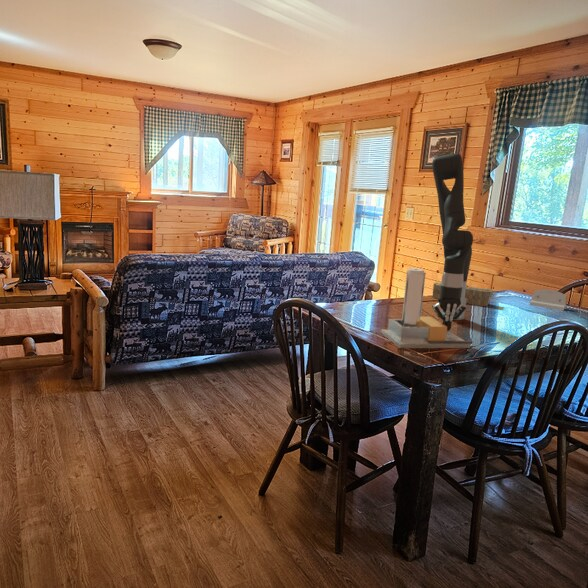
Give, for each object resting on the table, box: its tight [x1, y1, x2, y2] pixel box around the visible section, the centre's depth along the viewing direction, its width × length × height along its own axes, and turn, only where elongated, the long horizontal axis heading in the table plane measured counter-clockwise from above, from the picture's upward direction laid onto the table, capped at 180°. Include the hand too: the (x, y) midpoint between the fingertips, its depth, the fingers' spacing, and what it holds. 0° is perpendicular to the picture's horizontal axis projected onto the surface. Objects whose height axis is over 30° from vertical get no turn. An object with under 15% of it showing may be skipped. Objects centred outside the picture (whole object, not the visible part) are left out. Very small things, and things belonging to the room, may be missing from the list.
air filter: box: [401, 267, 427, 327], centre depth 182 cm, size 6×6×25 cm
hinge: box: [529, 288, 567, 312], centre depth 259 cm, size 17×5×10 cm, turn 53°
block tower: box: [432, 282, 494, 307], centre depth 260 cm, size 8×8×29 cm
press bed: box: [380, 318, 473, 349], centre depth 185 cm, size 28×18×6 cm, turn 101°
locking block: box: [419, 315, 447, 341], centre depth 185 cm, size 6×14×6 cm, turn 11°
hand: (446, 330), depth 187 cm, fingers closed
